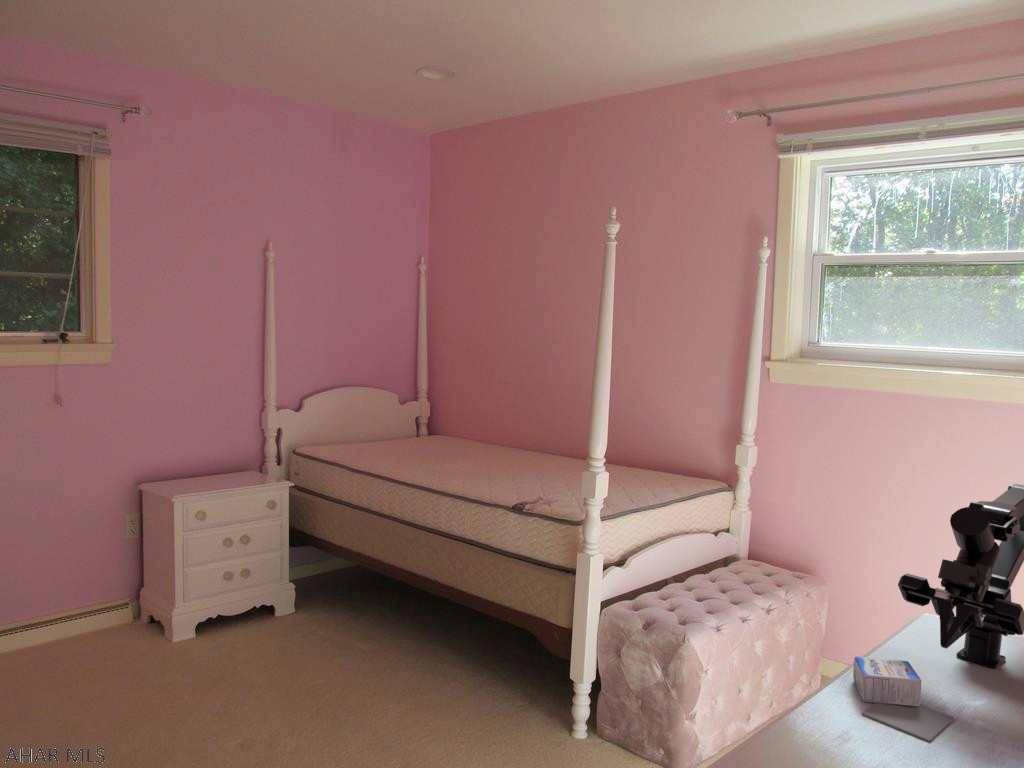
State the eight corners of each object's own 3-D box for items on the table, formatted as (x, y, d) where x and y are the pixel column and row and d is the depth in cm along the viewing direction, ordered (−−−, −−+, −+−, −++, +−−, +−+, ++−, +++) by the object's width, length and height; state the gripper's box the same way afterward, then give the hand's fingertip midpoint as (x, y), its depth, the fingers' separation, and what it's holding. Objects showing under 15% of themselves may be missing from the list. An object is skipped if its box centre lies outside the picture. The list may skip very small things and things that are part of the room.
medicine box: (922, 680, 130) (863, 674, 132) (920, 707, 130) (861, 701, 132) (909, 660, 137) (853, 655, 139) (907, 686, 138) (852, 681, 140)
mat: (889, 694, 135) (889, 692, 135) (954, 719, 128) (955, 717, 128) (861, 714, 128) (861, 712, 128) (929, 742, 121) (929, 740, 121)
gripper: (907, 528, 144) (874, 604, 138) (1029, 556, 131) (999, 642, 124) (920, 562, 150) (889, 636, 144) (1038, 593, 137) (1009, 676, 131)
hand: (943, 646), depth 136 cm, fingers closed
